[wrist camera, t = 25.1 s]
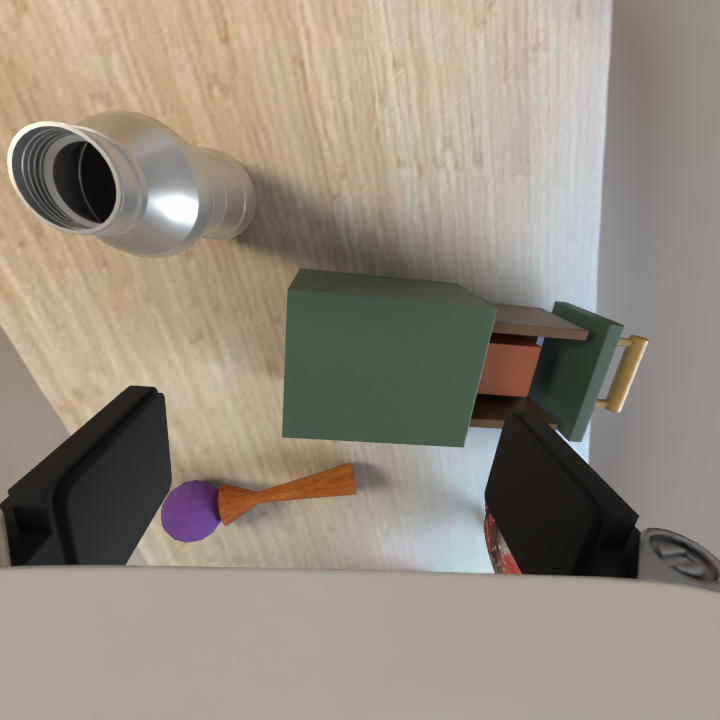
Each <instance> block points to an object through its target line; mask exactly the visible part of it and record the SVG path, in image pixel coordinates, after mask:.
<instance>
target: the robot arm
mask: <svg viewBox="0 0 720 720" xmlns="http://www.w3.org/2000/svg"><path fill="white" fill-rule="evenodd" d="M171 481H172V474H171V463H170V452H169V440H168V429H167V418H166V406H165V397H164V395H163V393H158V391H157V389H156V388H155V387H146V386H129V387H128V388H126V389H125V390H124V391H123V392H122V393H121V394H119V395H118V396H117V397H116V398H115V399H114V400H112V401H111V402H110V403H109V404H108V405H107V406H105V407H104V408H103V409H102V410H101V411H100V412H98V413H97V414H96V415H95V416H94V417H93V418H91V419H90V420H89V421H88V422H87V423H86V424H84V425H83V426H82V427H81V428H80V429H79V430H77V431H76V432H75V433H74V434H73V435H72V436H70V437H69V438H68V439H67V440H66V441H65V442H64V443H62V445H60V446H59V447H58V448H57V449H55V450H54V451H53V452H52V453H51V454H50V455H48V456H47V457H46V458H45V459H44V460H43V461H41V462H40V463H39V464H38V465H37V466H36V467H35V468H33V469H32V470H31V471H30V472H29V473H28V474H26V475H25V476H24V477H23V478H22V479H20V480H19V481H18V482H17V483H16V484H15V485H13V486H12V487H11V488H10V489H9V490H8V494H9V497H7V498H6V499H5V500H4V501H3V502H2V503H1V504H0V720H720V561H719V559H718V558H716V557H715V556H714V555H713V554H711V553H710V552H709V551H708V550H707V549H705V548H704V547H702V546H701V545H699V544H698V543H696V542H695V541H693V540H690V539H688V538H687V537H685V536H683V535H681V534H678V533H675V532H672V531H669V530H666V529H660V528H648V529H645V530H643V531H642V532H640V531H639V530H638V529H637V528H636V527H635V524H636V522H637V519H638V517H639V515H638V514H637V513H636V512H635V511H634V510H633V509H632V508H631V507H630V506H629V505H628V504H627V503H626V502H625V501H624V500H623V499H622V498H621V497H620V496H619V495H618V494H617V493H616V492H615V491H614V490H613V489H612V488H611V487H610V486H609V485H608V484H607V483H606V482H605V481H604V480H603V479H602V478H601V477H600V476H599V475H598V474H597V473H596V472H595V471H594V470H593V469H592V468H591V467H590V466H589V465H588V464H587V463H586V462H585V461H584V460H583V459H582V458H581V457H580V456H579V455H578V454H577V453H576V452H575V451H574V450H573V449H572V448H571V447H570V446H569V445H568V444H567V443H566V442H565V441H564V440H563V439H562V438H561V437H560V436H559V435H558V434H557V433H556V432H555V431H554V430H553V429H552V428H551V427H550V426H549V425H548V424H547V423H546V422H545V421H544V420H543V419H542V418H541V417H540V416H539V415H538V414H537V413H536V412H523V411H514V412H513V413H512V414H511V416H507V417H506V418H505V421H504V425H503V428H502V432H501V435H500V439H499V443H498V446H497V450H496V453H495V457H494V461H493V464H492V468H491V471H490V475H489V479H488V482H487V486H486V489H485V503H486V505H487V507H488V509H489V511H490V513H491V515H492V517H493V519H494V521H495V523H496V525H497V527H498V529H499V531H500V533H501V535H502V537H503V539H504V541H505V543H506V545H507V546H508V548H509V550H510V552H511V554H512V556H513V558H514V560H515V562H516V564H517V566H518V568H519V570H520V572H521V574H495V573H459V572H421V571H381V570H339V569H295V568H246V567H192V566H136V565H133V566H132V565H126V563H127V561H128V560H129V558H130V556H131V555H132V553H133V551H134V549H135V548H136V546H137V544H138V543H139V541H140V539H141V538H142V536H143V534H144V533H145V531H146V529H147V527H148V526H149V524H150V522H151V521H152V519H153V517H154V516H155V514H156V512H157V510H158V509H159V507H160V505H161V504H162V502H163V500H164V499H165V497H166V495H167V494H168V492H169V489H170V486H171Z"/></svg>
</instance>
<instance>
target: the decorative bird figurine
mask: <svg viewBox="0 0 720 720" xmlns="http://www.w3.org/2000/svg"><path fill="white" fill-rule="evenodd" d="M485 508H486V509H485V511H486V515H485V520H484V533H485V540H486V545H487V549H488V553H489V557H490V560H491V563H492V566H493V569H494V572H495V574H521V572H520V570H519V568H518V566H517V564H516V562H515V560H514V558H513V556H512V554H511V552H510V550H509V548H508V546H507V545H506V543H505V541H504V539H503V537H502V535H501V533H500V531H499V529H498V527H497V525H496V523H495V521H494V519H493V517H492V515H491V513H490V511H489V509H488V507H487V506H486V504H485Z"/></svg>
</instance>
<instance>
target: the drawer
mask: <svg viewBox="0 0 720 720" xmlns="http://www.w3.org/2000/svg"><path fill="white" fill-rule="evenodd" d="M489 304H491V305H492V306H494V307H496V308H497V311H496V316H495V320H494V324H493V328H492V332H493V333H505V334H516V335H523V336H525V337H526V338H528V339H529V340H531V341H532V342H534V343H535V344H536V341H537V338H538V336H539V337H545V338H544V341H543V345H542V348H541V352H540V355H539V358H538V362H537V365H536V369H535V372H534V375H533V379H532V382H531V385H530V389H529V392H528V395H527V397H519V396H505V395H491V394H477V395H476V399H475V403H474V407H473V411H472V415H471V420H470V424H469V427H482V428H499V429H502V428H503V425H504V421H505V418H506V417H507V416H511V414H512V413H513V412H514V411H523V412H536V413H537V414H538V415H539V416H540V417H541V418H542V419H543V420H544V421H545V422H546V423H547V424H548V425H549V426H550V427H551V428H552V429H553V430H554V431H556V429H557V430H558V431H559V432H560V433H561V434H562V435H563V436H564V437H565V438H566V439H567V440H568V441H573V442H582V439H583V437H584V434H585V431H586V429H587V426H588V423H589V420H590V418H591V415H592V412H593V410H594V407H604V408H605V409H607V410H610V411H613V412H620V411H621V409H622V407H623V404H624V401H625V399H626V397H627V394H628V392H629V389H630V386H631V384H632V382H633V379H634V376H635V374H636V371H637V369H638V366H639V364H640V361H641V359H642V356H643V354H644V351H645V349H646V346H647V344H648V341H649V340H648V339H647V338H644V337H640V336H633V335H631V336H630V337H629V338H620V337H621V334H622V331H623V329H624V325H621V324H619V323H617V322H614V321H612V320H609V319H607V318H604V317H602V316H599V315H597V314H594V313H592V312H589V311H587V310H584V309H582V308H579V307H577V306H574V305H572V304H569V303H567V302H557V301H556V302H555V304H554V307H553V311H552V313H550V312H548V311H546V310H544V309H542V308H536V307H525V306H514V305H504V304H493V303H489ZM617 346H626V348H625V350H624V353H623V356H622V358H621V361H620V364H619V366H618V369H617V371H616V374H615V377H614V379H613V382H612V385H611V387H610V390H609V392H608V396H607V398H606V400H605V399H598V396H599V393H600V391H601V388H602V385H603V383H604V380H605V377H606V375H607V372H608V369H609V366H610V363H611V361H612V358H613V356H614V353H615V350H616V347H617Z"/></svg>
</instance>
